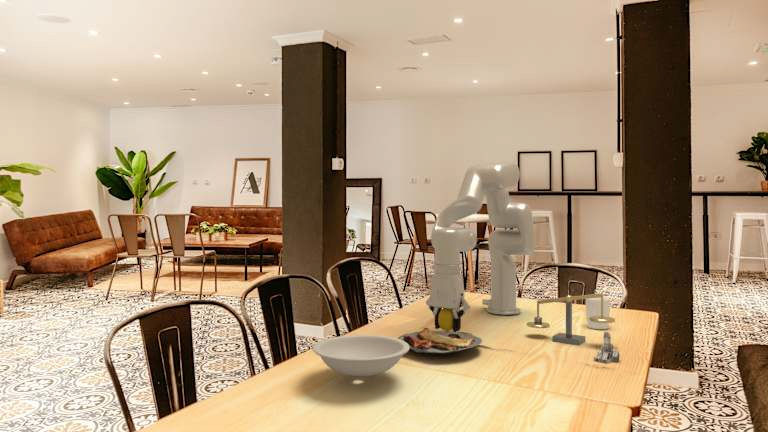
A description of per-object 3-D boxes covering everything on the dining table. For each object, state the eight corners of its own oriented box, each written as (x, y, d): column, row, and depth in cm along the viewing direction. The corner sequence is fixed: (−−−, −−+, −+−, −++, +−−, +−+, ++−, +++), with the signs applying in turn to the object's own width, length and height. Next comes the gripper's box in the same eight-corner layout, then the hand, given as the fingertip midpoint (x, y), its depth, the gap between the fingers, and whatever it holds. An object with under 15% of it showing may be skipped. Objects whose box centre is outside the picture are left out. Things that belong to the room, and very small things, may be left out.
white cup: (605, 325, 184) (606, 296, 184) (613, 330, 176) (613, 300, 176) (582, 324, 185) (582, 296, 185) (589, 329, 177) (589, 300, 177)
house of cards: (623, 370, 133) (623, 340, 133) (590, 363, 140) (590, 334, 140) (637, 363, 140) (637, 334, 139) (604, 356, 146) (605, 328, 146)
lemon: (458, 331, 162) (457, 305, 162) (454, 335, 156) (454, 308, 156) (440, 330, 163) (440, 304, 163) (436, 334, 158) (436, 307, 158)
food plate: (381, 347, 157) (381, 335, 157) (429, 333, 174) (429, 323, 174) (449, 363, 140) (449, 350, 140) (496, 347, 157) (496, 335, 156)
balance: (523, 336, 167) (523, 287, 167) (532, 332, 173) (532, 285, 173) (611, 350, 151) (611, 296, 151) (618, 345, 156) (618, 293, 156)
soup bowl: (375, 395, 115) (375, 365, 115) (292, 377, 128) (292, 350, 128) (426, 367, 136) (426, 342, 135) (350, 354, 148) (350, 330, 148)
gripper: (416, 269, 162) (417, 327, 162) (465, 273, 151) (466, 336, 152) (430, 266, 168) (430, 323, 168) (478, 270, 157) (478, 331, 158)
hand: (447, 328), depth 160 cm, fingers closed on lemon, 5 cm apart
